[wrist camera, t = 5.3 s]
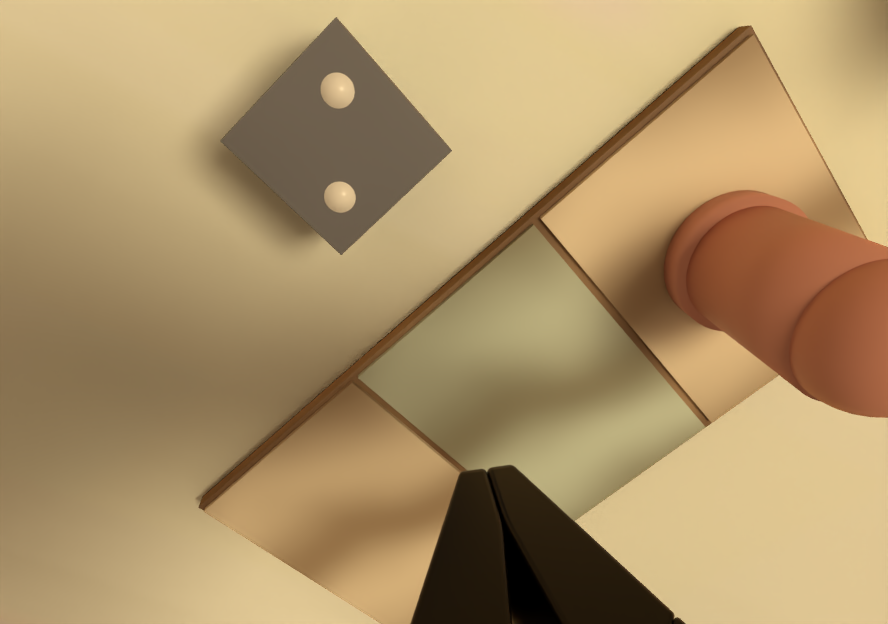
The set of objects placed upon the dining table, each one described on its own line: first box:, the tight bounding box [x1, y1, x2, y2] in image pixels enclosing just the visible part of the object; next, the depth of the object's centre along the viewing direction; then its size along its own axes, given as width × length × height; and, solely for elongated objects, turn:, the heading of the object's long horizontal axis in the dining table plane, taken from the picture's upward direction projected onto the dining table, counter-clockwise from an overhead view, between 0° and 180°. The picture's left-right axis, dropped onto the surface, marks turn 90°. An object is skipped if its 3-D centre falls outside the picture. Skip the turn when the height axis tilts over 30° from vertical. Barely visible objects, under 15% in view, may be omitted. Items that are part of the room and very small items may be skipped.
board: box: [199, 26, 867, 624], centre depth 22 cm, size 12×26×1 cm, turn 132°
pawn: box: [664, 190, 888, 417], centre depth 16 cm, size 5×5×8 cm
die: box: [221, 18, 452, 255], centre depth 15 cm, size 4×4×4 cm
